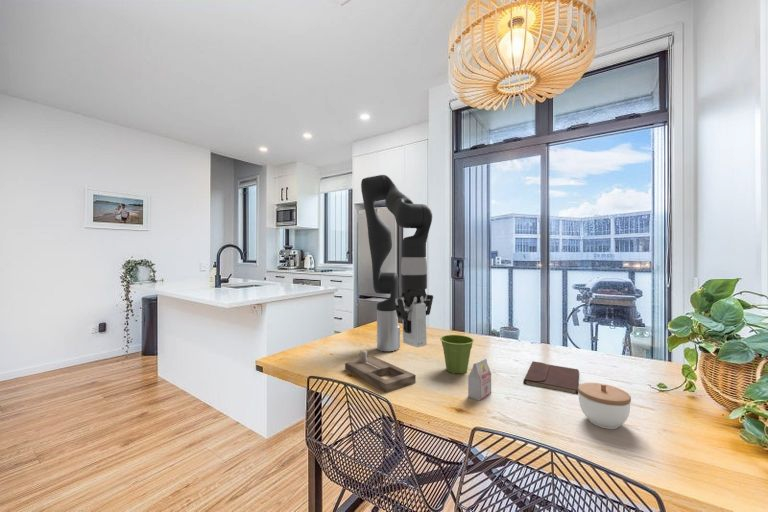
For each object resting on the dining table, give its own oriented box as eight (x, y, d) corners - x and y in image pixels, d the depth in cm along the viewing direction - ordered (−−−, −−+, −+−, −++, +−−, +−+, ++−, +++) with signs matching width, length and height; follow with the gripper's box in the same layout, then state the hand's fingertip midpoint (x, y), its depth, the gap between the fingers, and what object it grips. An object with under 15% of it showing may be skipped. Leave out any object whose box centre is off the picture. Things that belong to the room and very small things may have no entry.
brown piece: (372, 362, 123) (372, 346, 123) (415, 382, 104) (415, 364, 104) (345, 369, 116) (345, 352, 116) (386, 392, 97) (385, 372, 97)
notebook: (578, 374, 112) (578, 368, 112) (578, 395, 95) (578, 388, 95) (531, 366, 120) (531, 360, 120) (523, 384, 103) (523, 378, 103)
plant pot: (435, 373, 112) (435, 340, 112) (445, 362, 123) (445, 333, 122) (469, 379, 107) (469, 345, 106) (477, 367, 117) (477, 336, 117)
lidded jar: (608, 411, 85) (608, 375, 85) (642, 434, 74) (642, 393, 74) (568, 412, 85) (568, 376, 84) (597, 435, 74) (597, 394, 74)
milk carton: (468, 396, 94) (468, 362, 94) (479, 389, 99) (479, 357, 99) (479, 400, 91) (479, 365, 91) (491, 393, 96) (491, 359, 96)
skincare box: (427, 345, 93) (427, 303, 93) (416, 348, 90) (416, 304, 90) (412, 340, 98) (412, 300, 98) (401, 343, 95) (401, 302, 95)
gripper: (422, 271, 101) (422, 325, 101) (386, 273, 92) (386, 332, 93) (440, 272, 95) (440, 330, 95) (403, 274, 86) (403, 338, 87)
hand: (414, 331), depth 94 cm, fingers closed on skincare box, 4 cm apart
